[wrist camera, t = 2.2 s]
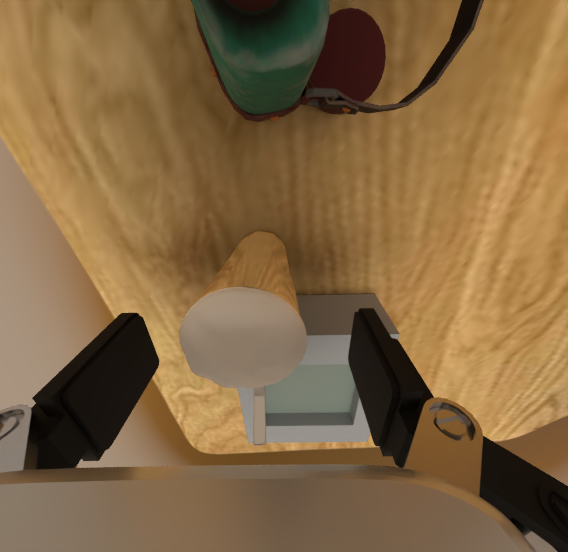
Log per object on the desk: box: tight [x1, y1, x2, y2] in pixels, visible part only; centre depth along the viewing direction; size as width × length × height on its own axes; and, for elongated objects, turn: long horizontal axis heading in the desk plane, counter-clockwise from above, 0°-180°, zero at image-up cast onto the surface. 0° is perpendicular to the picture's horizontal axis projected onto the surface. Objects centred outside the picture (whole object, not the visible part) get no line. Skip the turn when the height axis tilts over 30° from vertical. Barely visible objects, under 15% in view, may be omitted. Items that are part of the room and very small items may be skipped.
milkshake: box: [179, 231, 307, 446], centre depth 11 cm, size 4×5×10 cm
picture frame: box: [238, 294, 399, 443], centre depth 18 cm, size 12×10×4 cm
